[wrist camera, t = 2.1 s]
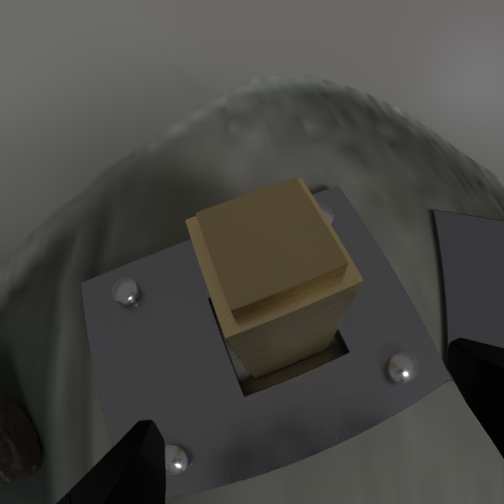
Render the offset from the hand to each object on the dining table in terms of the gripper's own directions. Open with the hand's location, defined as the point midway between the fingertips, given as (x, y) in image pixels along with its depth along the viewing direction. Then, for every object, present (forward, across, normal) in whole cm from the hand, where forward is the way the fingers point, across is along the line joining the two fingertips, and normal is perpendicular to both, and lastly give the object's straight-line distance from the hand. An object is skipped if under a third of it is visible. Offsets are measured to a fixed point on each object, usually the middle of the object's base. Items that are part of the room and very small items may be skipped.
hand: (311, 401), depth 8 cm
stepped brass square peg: (+12, 0, +4) cm, 13 cm away
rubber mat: (+11, -18, +6) cm, 21 cm away
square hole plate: (+12, +2, +5) cm, 13 cm away
